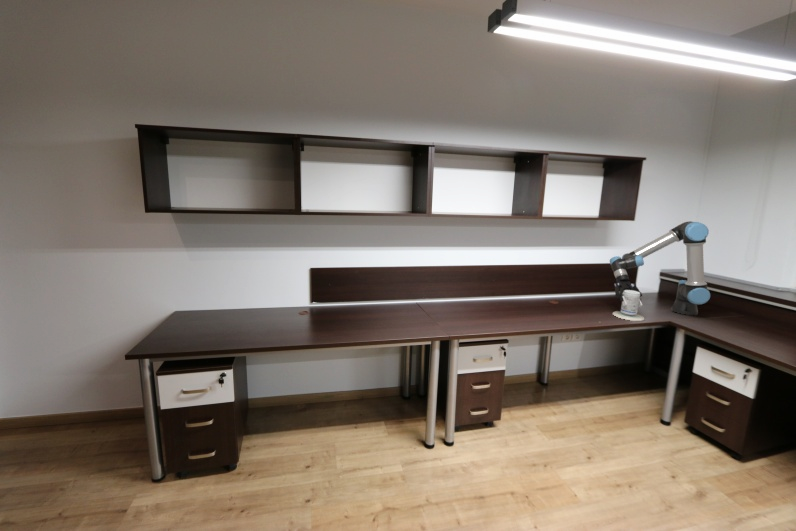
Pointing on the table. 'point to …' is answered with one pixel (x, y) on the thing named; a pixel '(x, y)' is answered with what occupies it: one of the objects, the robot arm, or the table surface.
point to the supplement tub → (630, 302)
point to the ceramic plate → (628, 316)
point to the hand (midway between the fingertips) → (633, 305)
